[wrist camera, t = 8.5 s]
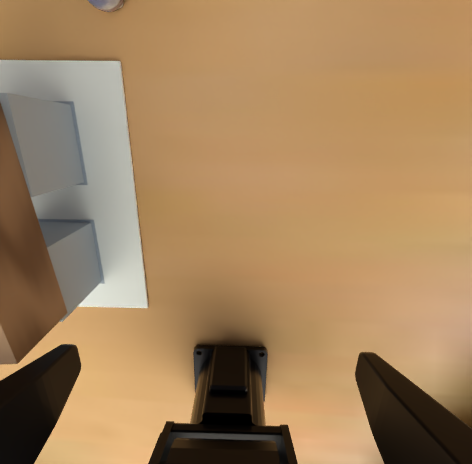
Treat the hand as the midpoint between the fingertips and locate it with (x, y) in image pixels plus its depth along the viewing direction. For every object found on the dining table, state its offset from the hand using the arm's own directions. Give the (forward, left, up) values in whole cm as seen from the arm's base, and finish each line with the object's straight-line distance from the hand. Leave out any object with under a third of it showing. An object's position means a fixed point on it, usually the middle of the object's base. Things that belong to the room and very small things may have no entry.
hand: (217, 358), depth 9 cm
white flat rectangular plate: (+2, +13, -12) cm, 18 cm away
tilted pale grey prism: (+6, +13, -12) cm, 19 cm away
